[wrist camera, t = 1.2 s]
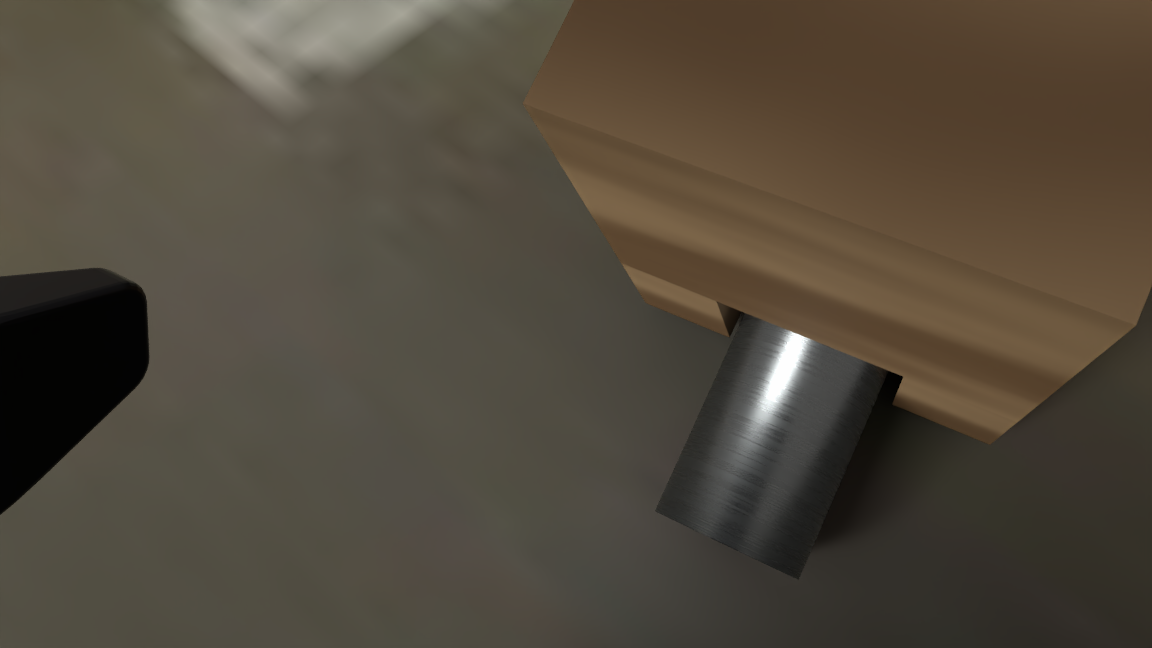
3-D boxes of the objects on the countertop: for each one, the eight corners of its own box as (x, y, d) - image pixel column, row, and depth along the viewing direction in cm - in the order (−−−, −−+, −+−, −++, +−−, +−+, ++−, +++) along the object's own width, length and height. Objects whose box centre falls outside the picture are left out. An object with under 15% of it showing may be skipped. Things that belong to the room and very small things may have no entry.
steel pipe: (804, 581, 21) (802, 581, 18) (662, 514, 22) (637, 503, 19) (1091, -84, 23) (1132, -185, 20) (950, -120, 24) (968, -221, 21)
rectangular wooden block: (989, 444, 20) (1136, 325, 11) (645, 303, 23) (522, 103, 13) (1063, 265, 21) (1265, 3, 12) (720, 144, 23) (652, -157, 14)
